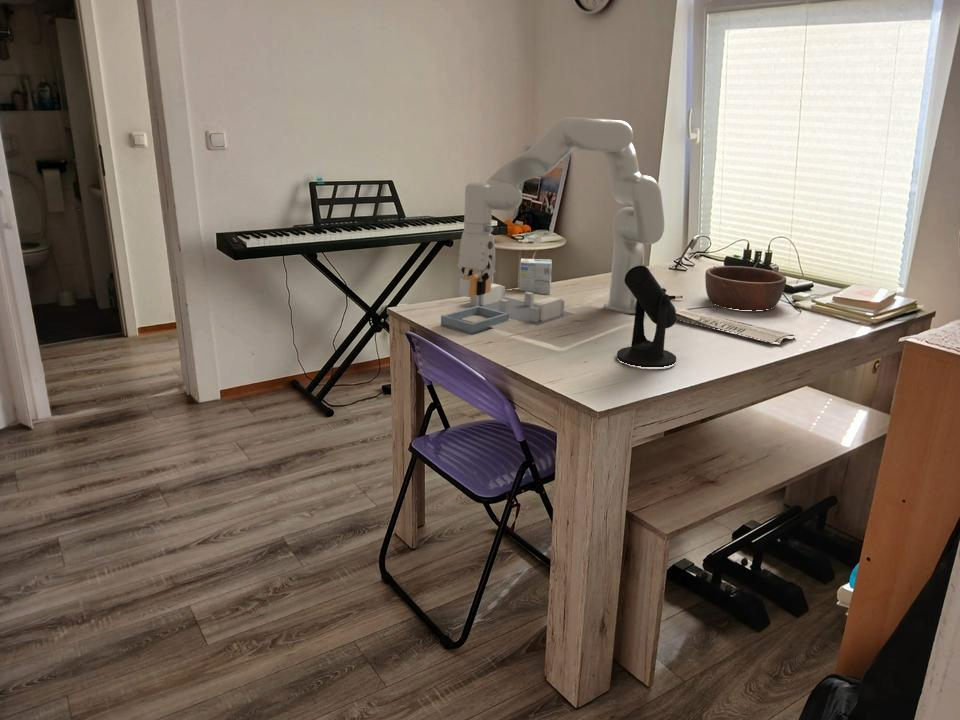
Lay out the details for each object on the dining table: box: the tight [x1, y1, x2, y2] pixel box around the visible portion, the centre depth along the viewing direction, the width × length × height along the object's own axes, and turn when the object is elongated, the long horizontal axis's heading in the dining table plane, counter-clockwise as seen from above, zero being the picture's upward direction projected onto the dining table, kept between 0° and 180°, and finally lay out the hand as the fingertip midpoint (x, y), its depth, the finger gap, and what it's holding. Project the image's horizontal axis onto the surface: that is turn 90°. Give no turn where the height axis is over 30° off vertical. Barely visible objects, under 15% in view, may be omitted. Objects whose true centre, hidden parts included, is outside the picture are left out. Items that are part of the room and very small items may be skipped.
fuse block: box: [460, 285, 574, 326], centre depth 235 cm, size 30×18×5 cm, turn 49°
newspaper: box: [675, 308, 795, 344], centre depth 224 cm, size 35×12×4 cm, turn 46°
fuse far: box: [479, 283, 503, 306], centre depth 242 cm, size 4×10×5 cm, turn 139°
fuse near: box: [533, 296, 563, 321], centre depth 228 cm, size 4×10×5 cm, turn 139°
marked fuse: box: [458, 273, 493, 298], centre depth 218 cm, size 4×10×5 cm, turn 139°
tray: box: [440, 306, 510, 336], centre depth 222 cm, size 12×16×3 cm
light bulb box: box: [518, 258, 553, 295], centre depth 259 cm, size 11×7×11 cm, turn 84°
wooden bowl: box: [704, 265, 787, 311], centre depth 251 cm, size 25×25×10 cm
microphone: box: [616, 265, 677, 367], centre depth 193 cm, size 15×17×25 cm
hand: (475, 292), depth 219 cm, fingers closed on marked fuse, 3 cm apart
